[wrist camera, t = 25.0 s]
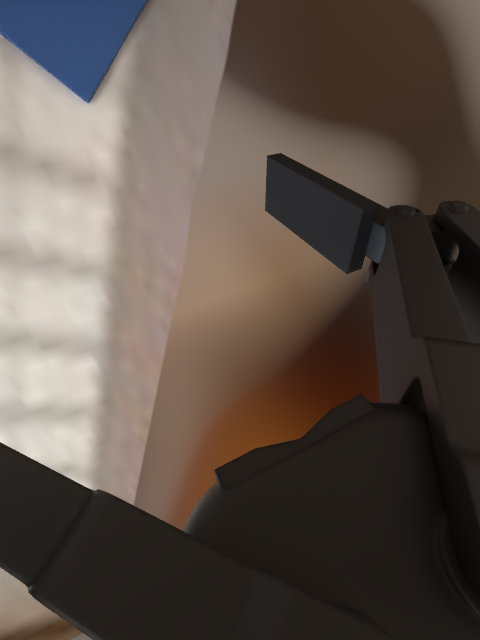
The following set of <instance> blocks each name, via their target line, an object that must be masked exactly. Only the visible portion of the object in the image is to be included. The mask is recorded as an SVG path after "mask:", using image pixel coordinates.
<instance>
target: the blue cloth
mask: <svg viewBox="0 0 480 640" xmlns="http://www.w3.org/2000/svg"><path fill="white" fill-rule="evenodd" d="M147 1H148V0H0V33H1V34H2V35H3V36H4V37H6V38H7V39H8V40H9V41H11V42H12V43H13V44H14V45H16V46H17V47H18V48H19V49H21V50H22V51H23V52H24V53H26V54H27V55H28V56H29V57H31V58H32V59H33V60H34V61H36V62H37V63H38V64H39V65H41V66H42V67H43V68H44V69H46V70H47V71H48V72H49V73H51V74H52V75H53V76H54V77H56V78H57V79H58V80H59V81H61V82H62V83H63V84H64V85H66V86H67V87H68V88H69V89H71V90H72V91H73V92H74V93H76V94H77V95H78V96H79V97H81V98H82V99H83V100H84V101H86V102H87V103H89V102H90V101H91V99H92V97H93V95H94V94H95V92H96V90H97V88H98V87H99V85H100V83H101V81H102V80H103V78H104V76H105V74H106V73H107V71H108V69H109V67H110V66H111V64H112V62H113V60H114V59H115V57H116V55H117V53H118V52H119V50H120V48H121V46H122V45H123V43H124V41H125V39H126V38H127V36H128V34H129V32H130V31H131V29H132V27H133V25H134V24H135V22H136V20H137V18H138V17H139V15H140V13H141V11H142V10H143V8H144V6H145V4H146V3H147Z"/></svg>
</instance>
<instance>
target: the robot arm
mask: <svg viewBox="0 0 480 640" xmlns="http://www.w3.org/2000/svg"><path fill="white" fill-rule="evenodd" d="M265 211H267V212H268V213H269V214H271V215H272V216H273V217H274V218H276V219H277V220H278V221H280V222H281V223H282V224H283V225H285V226H286V227H287V228H289V229H290V230H291V231H292V232H294V233H295V234H296V235H297V236H299V237H300V238H301V239H303V240H304V241H305V242H306V243H308V244H309V245H310V246H312V247H313V248H314V249H315V250H317V251H318V252H319V253H321V254H322V255H323V256H324V257H326V258H327V259H328V260H330V261H331V262H332V263H333V264H335V265H336V266H337V267H338V268H340V269H341V270H342V271H344V272H345V273H346V274H348V273H351V272H354V271H356V270H359V269H361V268H362V265H363V261H364V258H365V256H367V257H368V258H370V259H371V260H372V261H371V265H370V268H369V271H368V274H367V277H366V280H365V284H367V283H368V281H369V280H370V283H371V295H372V307H373V319H374V330H375V341H376V354H377V366H378V377H379V388H380V403H370V402H369V401H368V400H367V399H366V398H365V397H364V396H363V395H362V394H360V395H358V396H356V397H354V398H352V399H350V400H348V401H346V402H344V403H343V404H341V405H339V406H337V407H335V408H333V409H331V410H330V411H329V412H328V413H326V415H324V416H323V417H322V418H321V419H320V420H319V421H318V422H317V423H316V424H315V425H314V426H313V427H312V428H311V429H310V430H309V431H308V432H307V433H306V434H305V435H304V436H303V437H302V438H300V439H297V440H293V441H288V442H283V443H279V444H274V445H270V446H265V447H261V448H256V449H254V450H252V451H250V452H248V453H246V454H244V455H242V456H240V457H238V458H236V459H234V460H232V461H231V462H228V463H226V464H225V465H223V466H221V467H219V468H217V469H215V475H216V480H217V482H216V483H215V484H214V485H213V486H212V487H211V488H210V489H209V490H208V491H207V492H206V493H205V494H204V496H203V497H202V498H201V499H200V501H199V502H198V504H197V505H196V507H195V509H194V510H193V512H192V514H191V516H190V518H189V520H188V522H187V524H186V526H185V529H184V531H182V530H180V529H178V528H176V527H174V526H172V525H170V524H168V523H166V522H164V521H162V520H160V519H158V518H156V517H155V516H153V515H151V514H149V513H146V512H145V511H143V510H141V509H139V508H137V507H135V506H133V505H131V504H129V503H127V502H125V501H124V500H122V499H120V498H118V497H116V496H114V495H111V494H109V493H107V492H105V491H102V490H96V491H94V490H91V489H89V488H87V487H85V486H83V485H81V484H79V483H77V482H75V481H73V480H71V479H69V478H67V477H65V476H63V475H62V474H60V473H58V472H56V471H54V470H52V469H50V468H48V467H46V466H44V465H42V464H41V463H39V462H37V461H35V460H33V459H31V458H29V457H27V456H25V455H23V454H21V453H19V452H18V451H16V450H14V449H12V448H10V447H8V446H6V445H4V444H2V443H0V567H1V568H2V569H4V570H5V571H7V572H8V573H10V574H11V575H12V576H14V577H15V578H17V579H18V580H20V581H21V582H22V583H24V584H25V585H26V586H27V587H28V592H29V593H30V594H31V595H32V596H33V597H34V598H35V599H36V600H37V601H39V602H40V603H41V604H43V605H44V606H45V607H47V608H48V609H50V610H51V611H52V612H54V613H55V614H57V615H58V616H60V617H61V618H63V619H64V620H65V621H67V622H68V623H70V624H71V625H73V626H74V627H75V628H77V629H78V630H80V631H81V632H83V633H84V634H86V635H87V636H88V637H90V638H91V639H93V640H480V211H478V210H477V209H476V208H475V207H473V206H471V205H469V204H466V203H465V202H463V201H457V200H456V201H445V202H442V203H440V205H439V207H438V209H437V212H436V214H435V215H424V213H423V212H422V211H421V210H419V209H417V208H414V207H411V206H406V205H396V206H391V207H389V208H388V209H387V208H385V207H383V206H382V205H380V204H377V203H376V202H374V201H372V200H370V199H368V198H366V197H364V196H362V195H360V194H358V193H357V192H355V191H353V190H351V189H348V188H347V187H345V186H343V185H341V184H339V183H337V182H335V181H333V180H331V179H329V178H327V177H325V176H324V175H322V174H320V173H318V172H316V171H314V170H312V169H310V168H308V167H306V166H304V165H302V164H301V163H299V162H297V161H295V160H293V159H291V158H289V157H287V156H285V155H283V154H281V153H279V154H274V155H269V156H267V176H266V203H265ZM458 249H459V255H458V258H457V260H456V261H455V260H454V257H455V255H456V253H457V251H458Z"/></svg>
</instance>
